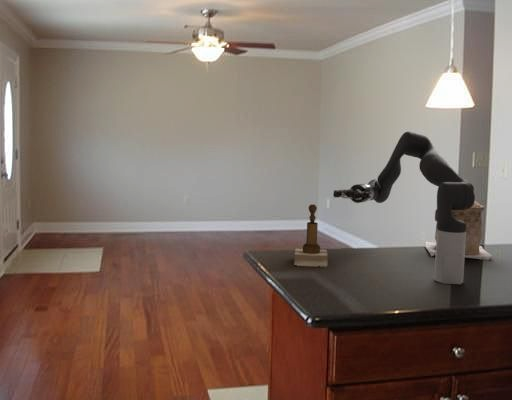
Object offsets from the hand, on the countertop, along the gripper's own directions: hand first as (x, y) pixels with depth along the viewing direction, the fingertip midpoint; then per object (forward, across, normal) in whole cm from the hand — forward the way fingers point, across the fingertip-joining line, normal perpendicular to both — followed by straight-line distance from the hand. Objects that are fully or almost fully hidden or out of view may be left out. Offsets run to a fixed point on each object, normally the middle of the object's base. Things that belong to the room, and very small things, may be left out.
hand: (344, 195), depth 225 cm
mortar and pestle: (+15, -6, +21) cm, 26 cm away
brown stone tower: (-41, +33, +25) cm, 58 cm away
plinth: (+15, -6, +25) cm, 30 cm away
